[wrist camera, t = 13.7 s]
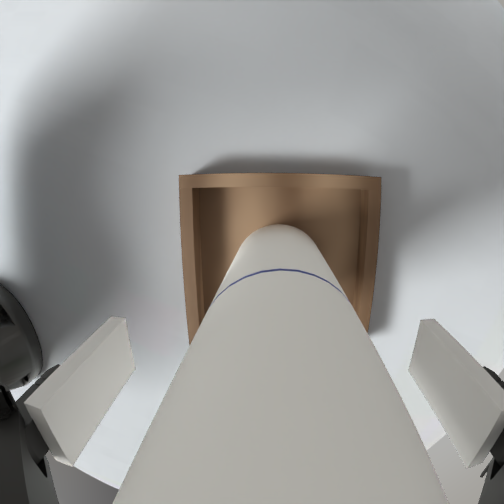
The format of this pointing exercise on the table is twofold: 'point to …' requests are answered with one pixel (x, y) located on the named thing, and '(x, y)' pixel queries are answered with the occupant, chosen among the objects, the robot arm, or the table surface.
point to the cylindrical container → (281, 398)
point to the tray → (278, 212)
